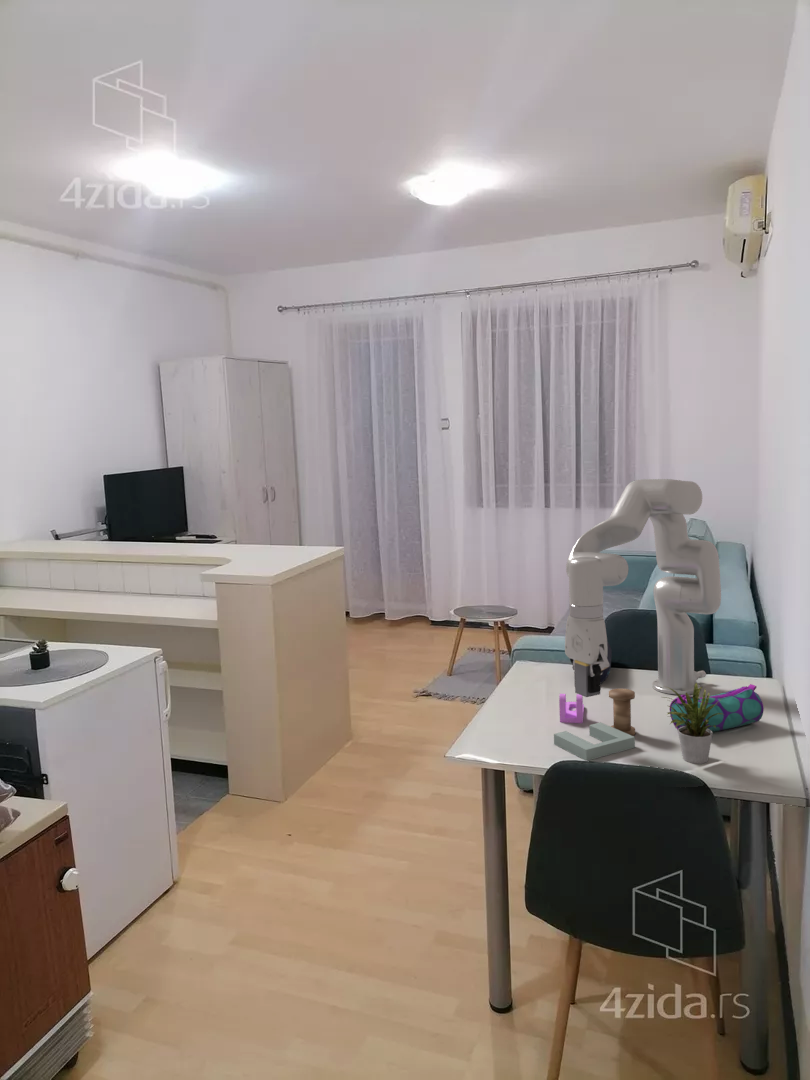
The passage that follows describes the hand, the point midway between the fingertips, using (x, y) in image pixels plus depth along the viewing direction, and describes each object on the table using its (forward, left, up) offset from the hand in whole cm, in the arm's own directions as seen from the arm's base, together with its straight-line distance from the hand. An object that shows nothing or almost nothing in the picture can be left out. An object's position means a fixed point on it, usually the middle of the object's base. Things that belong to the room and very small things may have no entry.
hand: (587, 688), depth 176 cm
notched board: (0, +1, -13) cm, 13 cm away
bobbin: (-11, -1, -13) cm, 17 cm away
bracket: (-10, -18, -14) cm, 25 cm away
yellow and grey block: (0, 0, -1) cm, 1 cm away
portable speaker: (-37, -42, -14) cm, 58 cm away
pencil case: (-32, +9, -14) cm, 36 cm away
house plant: (-14, +18, -13) cm, 26 cm away
